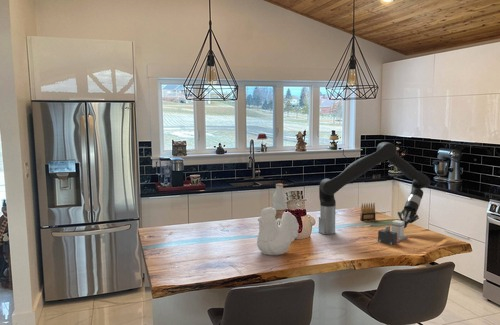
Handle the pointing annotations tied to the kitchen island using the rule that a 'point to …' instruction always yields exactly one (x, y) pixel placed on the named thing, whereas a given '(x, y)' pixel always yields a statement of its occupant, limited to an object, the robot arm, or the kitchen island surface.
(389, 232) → the grey boxy device
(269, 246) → the decorative rooster
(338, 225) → the kitchen island surface
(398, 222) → the grooved white block
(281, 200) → the white bottle
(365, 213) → the ammunition clip
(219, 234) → the kitchen island surface
